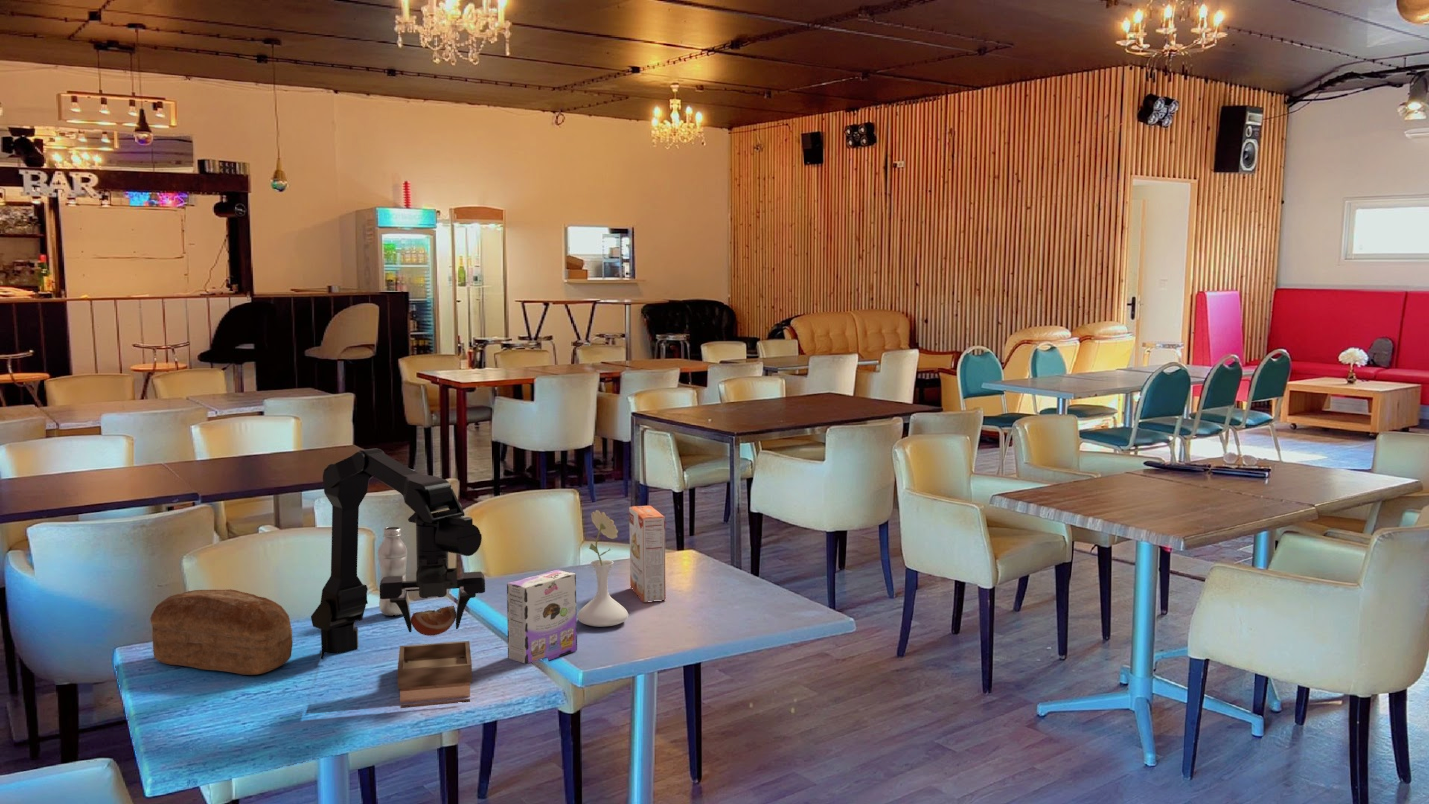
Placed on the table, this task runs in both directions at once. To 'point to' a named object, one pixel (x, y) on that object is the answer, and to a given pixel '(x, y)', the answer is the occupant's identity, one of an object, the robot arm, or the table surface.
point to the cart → (434, 664)
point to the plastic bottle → (392, 564)
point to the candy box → (542, 616)
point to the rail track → (434, 694)
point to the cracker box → (647, 553)
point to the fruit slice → (434, 620)
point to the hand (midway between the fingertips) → (433, 630)
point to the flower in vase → (602, 583)
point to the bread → (222, 632)
